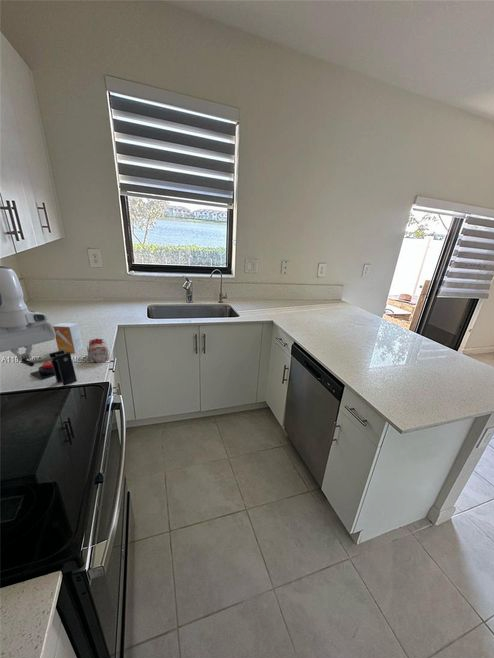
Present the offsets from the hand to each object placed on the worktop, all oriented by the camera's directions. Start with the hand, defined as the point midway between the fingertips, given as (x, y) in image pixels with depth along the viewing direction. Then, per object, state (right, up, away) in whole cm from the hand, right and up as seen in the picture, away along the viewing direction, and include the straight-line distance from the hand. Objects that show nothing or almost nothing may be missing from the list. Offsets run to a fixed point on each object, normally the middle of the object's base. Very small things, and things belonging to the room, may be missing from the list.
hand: (24, 359), depth 96 cm
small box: (-15, +4, +45) cm, 47 cm away
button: (-5, -3, +17) cm, 18 cm away
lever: (+4, -1, +4) cm, 6 cm away
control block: (-5, -7, +19) cm, 20 cm away
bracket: (+6, -10, +12) cm, 17 cm away
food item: (+4, 0, +35) cm, 35 cm away
